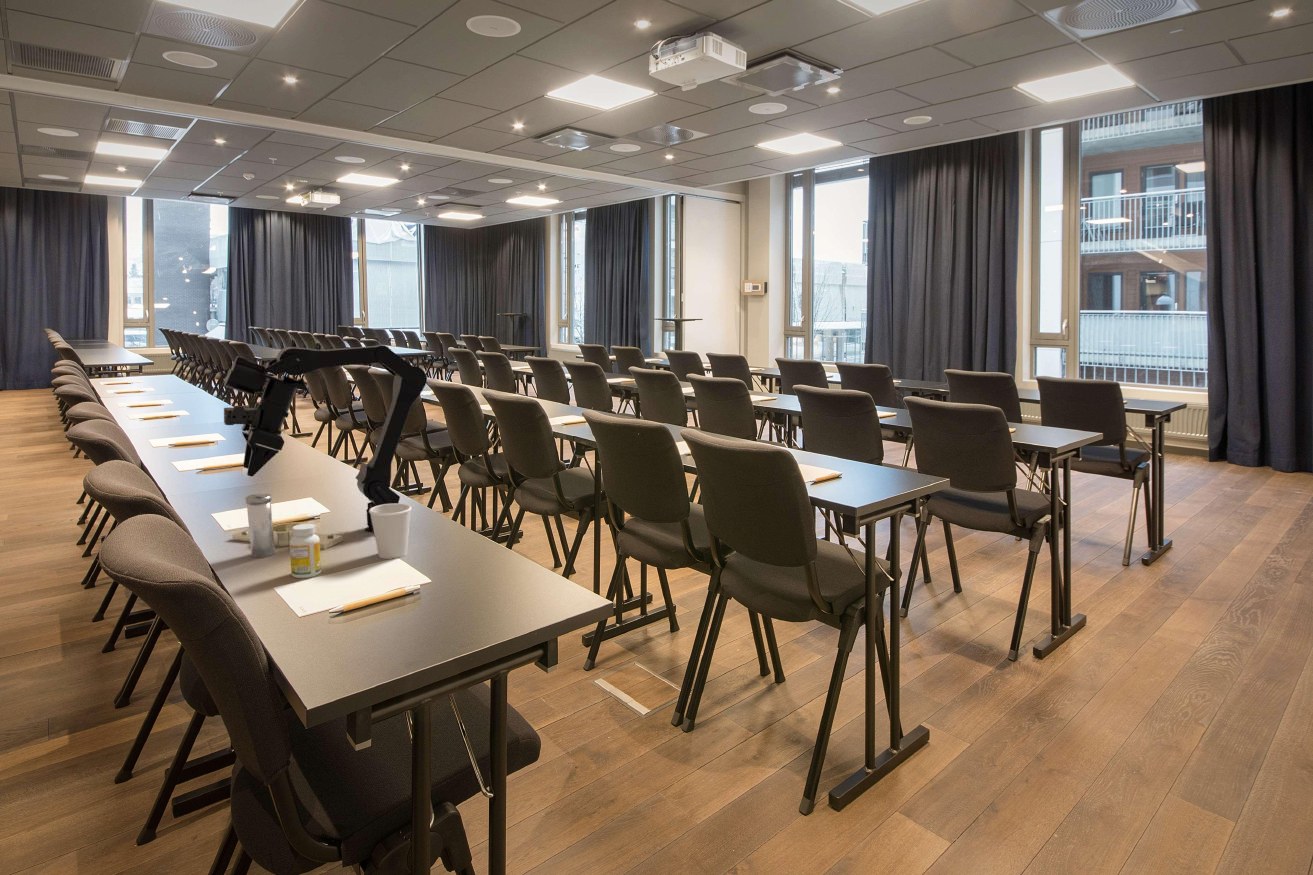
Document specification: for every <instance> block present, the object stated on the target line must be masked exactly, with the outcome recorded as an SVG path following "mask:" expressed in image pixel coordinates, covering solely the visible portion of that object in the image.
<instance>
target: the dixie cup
mask: <svg viewBox="0 0 1313 875" xmlns="http://www.w3.org/2000/svg"><path fill="white" fill-rule="evenodd" d="M411 510H412V506H410V505H409V504H406V503H399V504H398V503H395V504H383V505H378V506H375V507H372V508H371V509H370V510H369V513H370V514H371V519H372V524H373V529H374V531H373V534H374V539H375V544H376V550H377V554H378V557H379V558H381V559H386V560H387V559H388V560H389V559H391V560H392V558H394V559H398V558H397V557H400V558H403V557H405V556H407V554H408V543H409V531H410V530H409V529H410V521H411V520H410V518H411Z"/></svg>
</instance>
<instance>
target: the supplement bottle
mask: <svg viewBox="0 0 1313 875" xmlns="http://www.w3.org/2000/svg"><path fill="white" fill-rule="evenodd" d="M292 533H293V535H294V537H292V538H291V539H290V542H289V556H290V570H291V572H290V573H291V576H292V577H293V578H297V579H308V578H313V577H316V576H318V575H320V574H321V573H322V559H321V549H320V539H319V537H318V536H317V535H315V534H314V533H316V525H315V524H314V523H305V524H299V525H296V526H294V527H292Z"/></svg>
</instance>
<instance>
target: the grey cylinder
mask: <svg viewBox="0 0 1313 875" xmlns="http://www.w3.org/2000/svg"><path fill="white" fill-rule="evenodd" d="M244 502H245V504H246V509H247V518H248V519H247V520H248V521H247V522H248V529H249V534H250V554H251V555H250V556H251V558H255V559H261V558H263V559H264V558H268V557H272V556H274V555H275V554H276V550H275V548H276V547H275V546H274V536H273V525H274V524H273V516H272V495H271V494H270V493H258V494H257V493H255V494H251V495H247V496H245V501H244Z"/></svg>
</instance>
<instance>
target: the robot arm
mask: <svg viewBox="0 0 1313 875" xmlns="http://www.w3.org/2000/svg"><path fill="white" fill-rule="evenodd" d="M234 360H235V361H234V362H233V364H232V365H231V367H230V369H229V370H228V372H227V373H226V374H227V375H226V377H225V380H224V384H223V386H224V387H226V388H230V389H232V390H235V391H237V392H240V393H241V392H242V393H244V394H247V395H250V396H254V394H256V393H258V394H259V393H261V392H262V391H263V388H264V386H265V384H266V386H265V388H264V391H263V393H262V395H261V398H260V401H257V402H256V403H255V404H254V407H244V406H243V405H241V406H239V405H238V406H237V405H234V406H233V407H224V408H223V423H224V425H226V426H234V425H242V427H241V430H242V432H241V434H242V436H243V437H244V439H245V443H246V445H245V452H244V458H243V464H242V467H243V468H244V469H247V472H246V475H247V476H249V477H250V478H251V477H254V476H255V475H256V474H257V473H258V472H259V471H260V470H261V469H262V468H263V467H265V465H266V464H267V463H268V462H269V461H271V460H272V459H273V458H274V457H275V456H276V455H277V454H279V452H280V451H282V449H283V447H284V444H285V440H284V438H283V437H282V427H283V425H284V422H285V419H286V418H287V419H288V417H289V414H290V413H289V410H290V407H291V404H292V402H293V399H294V397H295V395H296V392H297V389H298V390H301V391H305V392H307V391H308V387H307V385H306V383H305V378H303V377H300V378H298V379H295V378H293V377H289V376H287V375H282V376H281V378H278V377H275V376H272V375H269V374H267V373H270V374H273V375H280V374H288V375H291V376H300V375H303V374H309V373H312V372H315V371H318V370H321V369H325V368H331V367H342V366H353V365H355V366H356V365H365V364H367V365H368V364H377V363H378V364H379V365H380V366H381V367H383V368H384V370H386V371H387V373H389V374H391V376H393V377H394V378H393V384H392V400H391V404H390V406H389V410H388V412H387V415H386V418H385V421H384V423H383V427H382V430H381V432H380V435H379V438H378V442H377V444H376V447H375V449H374V452H373V455H372V457H371V459H370V460H369V461H368V462H367V463H365V462H363V461H362V462H360V465H359V466H360V467H359V472H358V474H357V475H356V476H355V478H354V479H356V480H357V481H356V486H357V489H358V490H359V492H360V493H361V494H362V495H364V496H365V497H366V498H367V500H368V501H369V502H368V503H367V504H366V505H367V508H366V510H365V511H366V525H367V527H365V528H364V531H365V532H366V531H367V532H374V529H373V524H372V519H371V514H370V513H369V510H370V509H371V508H372V507H375V506H378V505H383V504H395V503H398V504H400V503H399V502H400V498H401V497H400V495H399V494H397V493H396V492H395V491H394V490H392V488H390V486H391V479H392V462H393V459H394V457H395V454H396V451H397V448H398V446H399V442H400V440H401V436H402V434H403V431H404V428H405V425H406V422H407V419H408V417H409V413H410V411H411V407H412V406H413V405H414V403H415V402H416V401H417V399H418V398H419V397H420V396H421V394H422V392H423V390H424V388H425V387H426V385H427V382H428V376H427V374H426V372H425V370H423V368H421V367H420V366H415V365H413V364H410V363H409V362H408V361H406V360H405V359H403V358H402V357H401V356H399V355H398V354H396V353H395V352H394V351H393V350H392V348H390V347H389V346H387V345H383V344H376V345H372V346H370V345H369V346H359V347H357V346H356V347H344V348H343V347H342V348H330V349H316V348H315V349H314V348H308V347H307V348H305V347H304V348H303V347H295V346H287V347H283V348H281V350H280V351H278V353H277V354H276V357H275V358H274V359H272V360H270V361H268V362H265V363H264V364H259V363H256V362H253V361H250V360H248V359H246V358H245V357H242V356H239V355H238V356H236V357H235V359H234ZM267 379H268V380H267ZM266 380H267V383H266Z"/></svg>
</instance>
